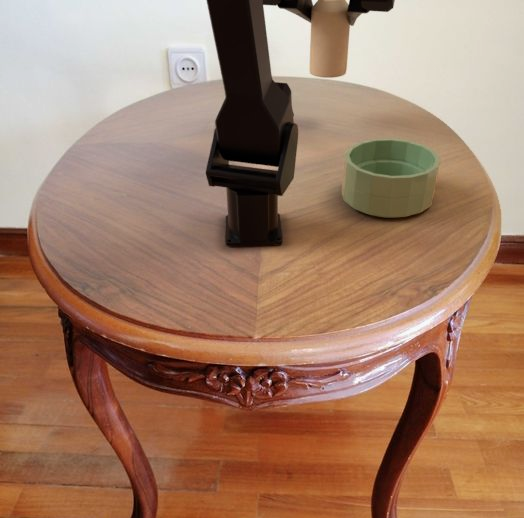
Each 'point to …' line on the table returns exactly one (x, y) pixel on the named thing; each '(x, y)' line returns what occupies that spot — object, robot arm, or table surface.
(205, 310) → the table surface
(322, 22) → the candle
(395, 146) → the green pet bowl
